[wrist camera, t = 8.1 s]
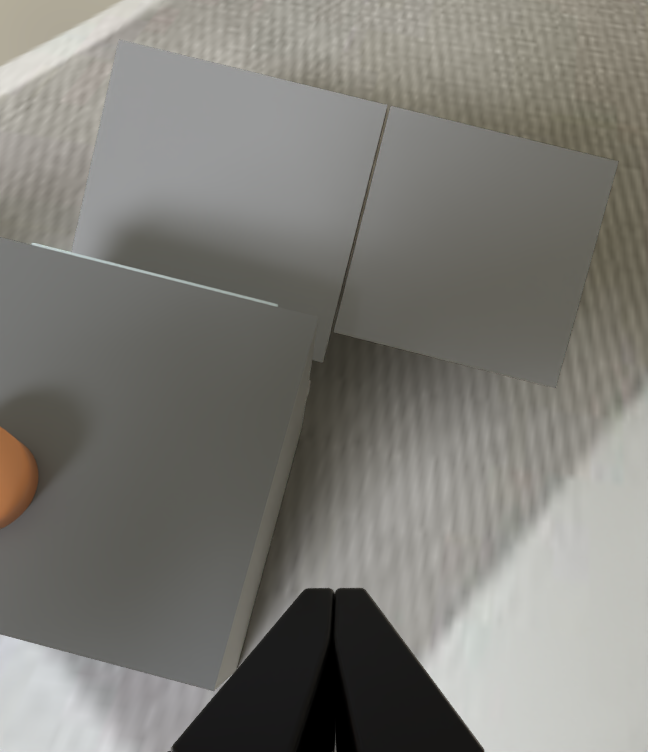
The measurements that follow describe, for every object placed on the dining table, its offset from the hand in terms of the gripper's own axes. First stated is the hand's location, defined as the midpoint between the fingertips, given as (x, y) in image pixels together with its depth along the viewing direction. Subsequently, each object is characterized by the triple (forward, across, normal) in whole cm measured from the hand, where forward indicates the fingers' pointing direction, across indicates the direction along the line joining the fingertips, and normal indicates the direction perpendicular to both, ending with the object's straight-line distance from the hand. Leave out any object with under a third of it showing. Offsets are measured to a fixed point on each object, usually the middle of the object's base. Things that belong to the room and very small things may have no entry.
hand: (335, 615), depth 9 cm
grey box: (+11, +6, +4) cm, 13 cm away
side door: (+11, +1, -1) cm, 12 cm away
